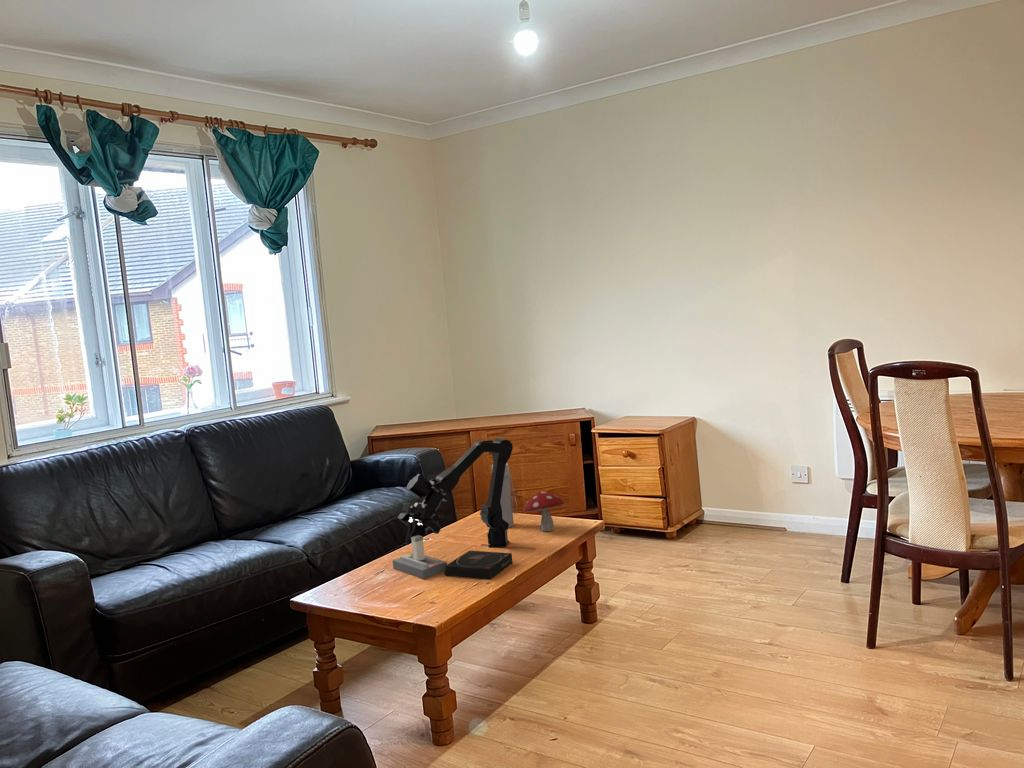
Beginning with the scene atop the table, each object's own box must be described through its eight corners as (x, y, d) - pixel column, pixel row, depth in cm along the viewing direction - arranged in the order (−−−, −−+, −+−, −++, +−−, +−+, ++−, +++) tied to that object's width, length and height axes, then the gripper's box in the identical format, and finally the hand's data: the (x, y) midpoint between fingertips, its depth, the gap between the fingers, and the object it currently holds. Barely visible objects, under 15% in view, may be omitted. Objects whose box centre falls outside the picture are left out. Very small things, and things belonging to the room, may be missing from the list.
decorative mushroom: (520, 536, 303) (516, 497, 302) (531, 524, 318) (528, 487, 317) (560, 536, 298) (557, 497, 297) (570, 524, 313) (567, 487, 312)
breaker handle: (420, 557, 275) (418, 535, 274) (425, 559, 273) (422, 536, 272) (413, 560, 273) (410, 537, 272) (417, 561, 271) (415, 538, 270)
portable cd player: (468, 561, 279) (467, 550, 279) (512, 564, 272) (511, 553, 271) (444, 577, 265) (443, 565, 264) (490, 581, 257) (489, 569, 257)
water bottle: (494, 529, 316) (488, 467, 314) (497, 523, 324) (492, 462, 321) (517, 528, 314) (511, 465, 312) (520, 522, 322) (515, 461, 320)
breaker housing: (417, 560, 283) (416, 549, 283) (447, 570, 270) (446, 559, 269) (393, 568, 277) (392, 557, 276) (423, 579, 263) (422, 567, 263)
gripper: (399, 490, 284) (376, 527, 278) (430, 496, 270) (406, 536, 264) (420, 506, 290) (397, 544, 284) (451, 513, 276) (427, 553, 270)
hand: (406, 544), depth 275 cm, fingers closed
